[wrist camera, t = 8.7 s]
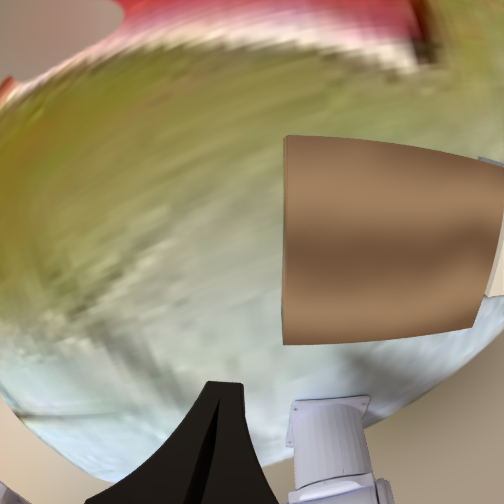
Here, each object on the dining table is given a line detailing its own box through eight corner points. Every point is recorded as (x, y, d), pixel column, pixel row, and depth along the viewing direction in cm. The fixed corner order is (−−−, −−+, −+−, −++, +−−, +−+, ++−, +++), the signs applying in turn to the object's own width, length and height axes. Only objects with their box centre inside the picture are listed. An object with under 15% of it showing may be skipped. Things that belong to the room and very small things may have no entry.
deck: (449, 302, 19) (472, 327, 16) (281, 310, 20) (283, 345, 17) (474, 161, 15) (508, 168, 11) (283, 138, 16) (288, 135, 12)
